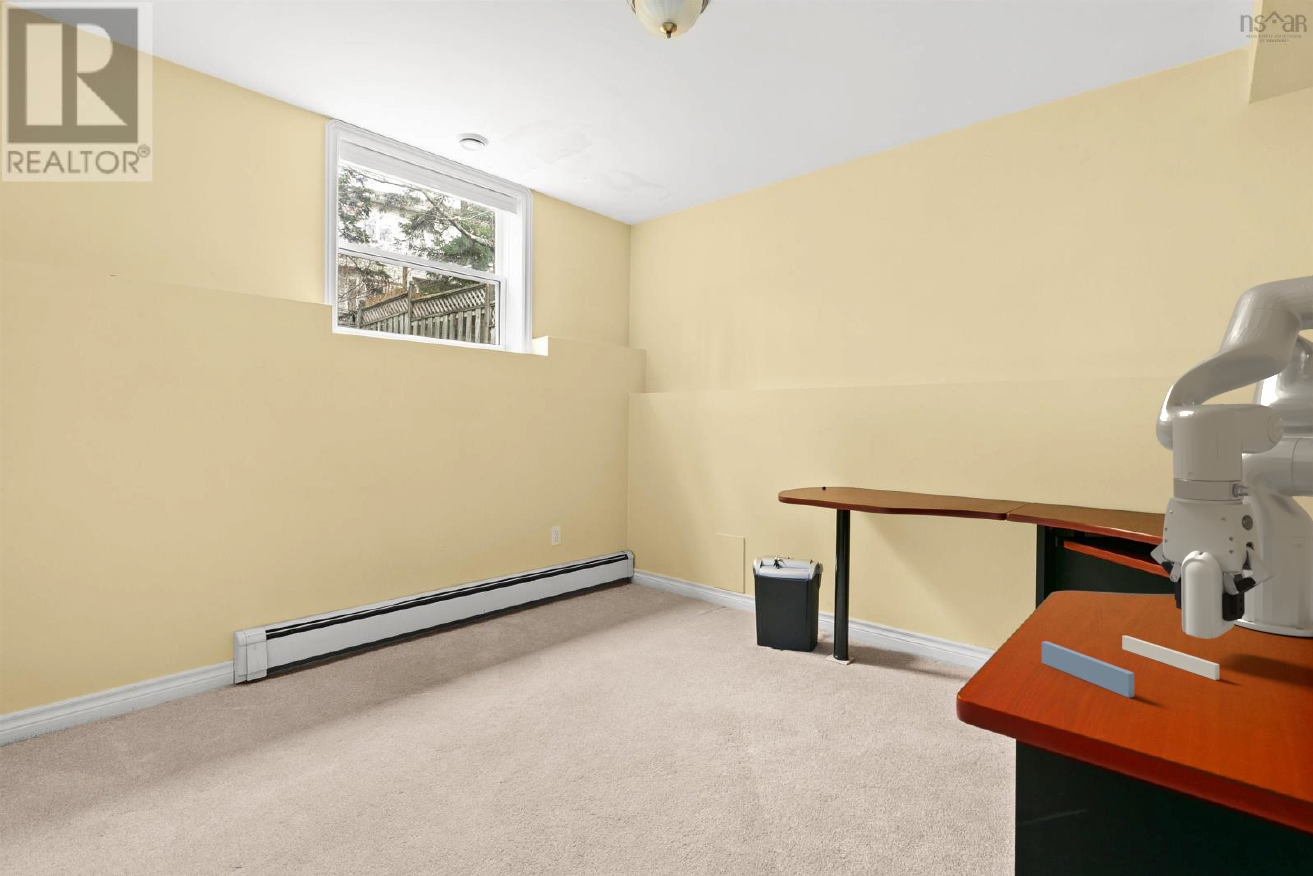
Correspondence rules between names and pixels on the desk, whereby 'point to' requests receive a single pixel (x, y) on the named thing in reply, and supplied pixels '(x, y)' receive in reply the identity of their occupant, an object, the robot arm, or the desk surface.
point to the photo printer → (1203, 596)
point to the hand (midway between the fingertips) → (1208, 612)
